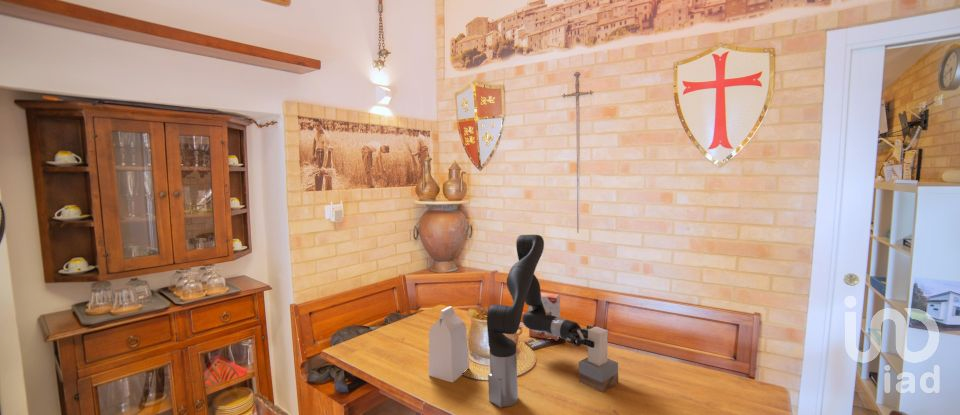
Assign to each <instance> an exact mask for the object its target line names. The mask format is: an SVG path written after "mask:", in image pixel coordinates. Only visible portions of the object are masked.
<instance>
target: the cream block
mask: <svg viewBox="0 0 960 415" xmlns="http://www.w3.org/2000/svg"><path fill="white" fill-rule="evenodd" d="M592 327H593V328H591V329H589V330H588V340H591V341H594V343H595V347H594V348H591V347H589V346H587V357H588V362H591V363H593V364H595V365H598V366H601V365H602V364H604V363H606V362H607V358H608V345H609V344H608V342H609V334H608V332H609V330H608V329H605V328H601V327H599V326H592Z"/></svg>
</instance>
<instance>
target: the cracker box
mask: <svg viewBox="0 0 960 415" xmlns="http://www.w3.org/2000/svg"><path fill="white" fill-rule="evenodd" d="M541 301H542V303H543V306H544V309H545V312H546V315H552V316H555V317H559V318H561V294H556V293H550V292H541ZM531 310H533V308H532V306H529V305H528V311H531ZM528 333H529V334H528V336H529V337H534V338H539V339H543V338H551V339H554V340H555V342H557V341H559V339H560V338H559V337H557V336H556V335H554V334H551V333H548V332H546V331H538V330H532V329H529V328H528ZM554 340H553V341H554Z"/></svg>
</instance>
